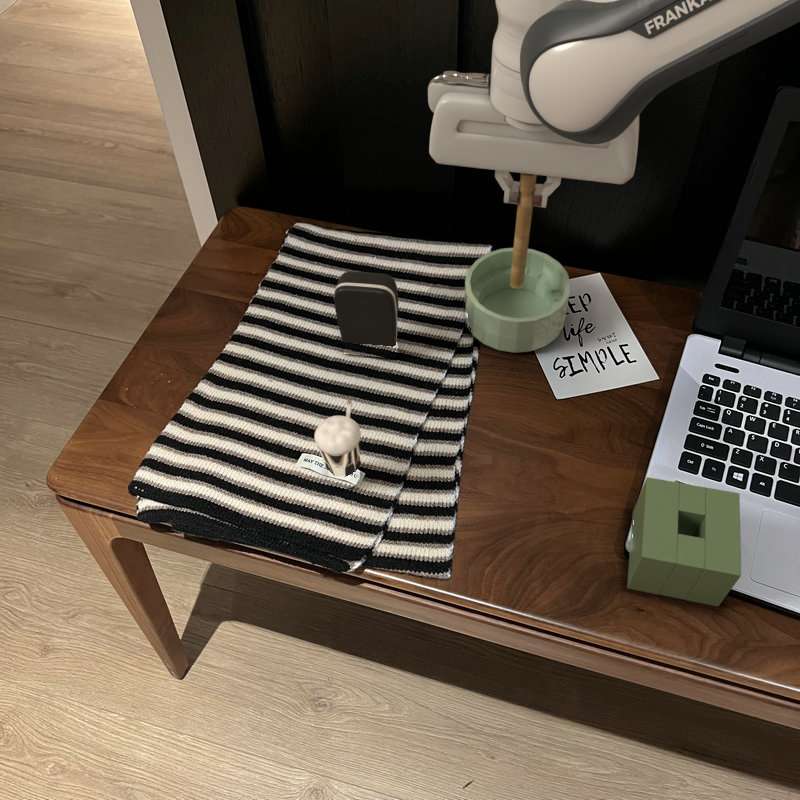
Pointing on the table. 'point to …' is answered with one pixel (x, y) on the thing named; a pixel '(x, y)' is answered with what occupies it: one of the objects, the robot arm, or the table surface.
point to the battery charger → (367, 308)
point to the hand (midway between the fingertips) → (525, 201)
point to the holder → (685, 542)
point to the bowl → (516, 301)
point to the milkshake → (339, 443)
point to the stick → (522, 229)
